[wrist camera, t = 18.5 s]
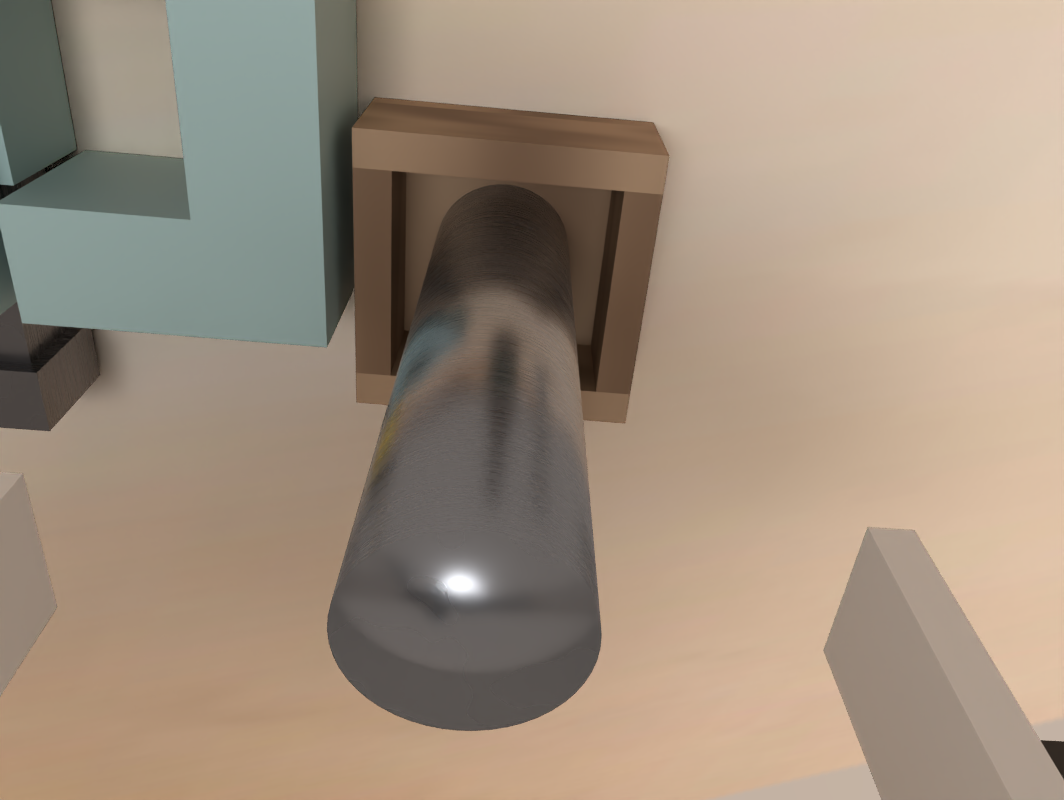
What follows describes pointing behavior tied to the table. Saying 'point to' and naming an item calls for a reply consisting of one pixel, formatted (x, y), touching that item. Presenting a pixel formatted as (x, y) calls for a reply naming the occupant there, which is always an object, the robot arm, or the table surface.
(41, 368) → the block
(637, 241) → the brown wooden tray
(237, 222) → the chuck block
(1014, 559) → the table surface
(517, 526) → the cylinder
